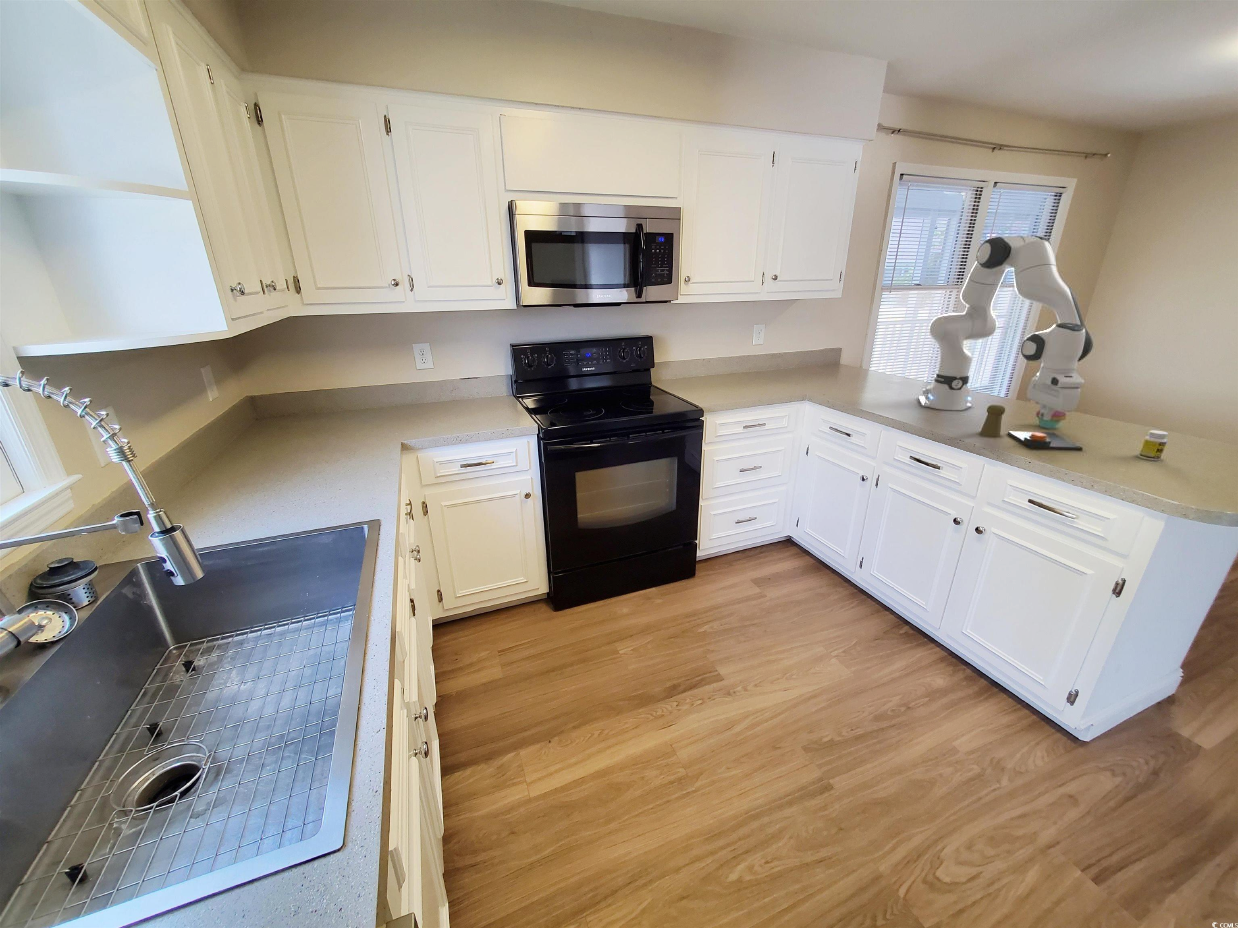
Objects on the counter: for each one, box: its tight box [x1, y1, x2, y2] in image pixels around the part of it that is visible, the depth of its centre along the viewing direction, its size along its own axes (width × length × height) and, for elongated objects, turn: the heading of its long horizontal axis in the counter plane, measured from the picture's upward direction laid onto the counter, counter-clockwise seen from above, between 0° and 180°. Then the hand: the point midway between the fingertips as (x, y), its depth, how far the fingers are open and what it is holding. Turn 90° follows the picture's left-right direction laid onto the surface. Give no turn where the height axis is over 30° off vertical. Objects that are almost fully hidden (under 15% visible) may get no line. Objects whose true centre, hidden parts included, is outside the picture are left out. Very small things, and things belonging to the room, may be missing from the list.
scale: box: [1007, 431, 1083, 452], centre depth 168 cm, size 16×15×3 cm
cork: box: [979, 404, 1006, 438], centre depth 175 cm, size 6×6×11 cm
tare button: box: [1030, 431, 1047, 440], centre depth 163 cm, size 4×4×2 cm
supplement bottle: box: [1138, 429, 1169, 461], centre depth 150 cm, size 5×5×8 cm
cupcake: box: [1035, 409, 1067, 429], centre depth 181 cm, size 9×8×12 cm
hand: (1044, 418), depth 161 cm, fingers closed
